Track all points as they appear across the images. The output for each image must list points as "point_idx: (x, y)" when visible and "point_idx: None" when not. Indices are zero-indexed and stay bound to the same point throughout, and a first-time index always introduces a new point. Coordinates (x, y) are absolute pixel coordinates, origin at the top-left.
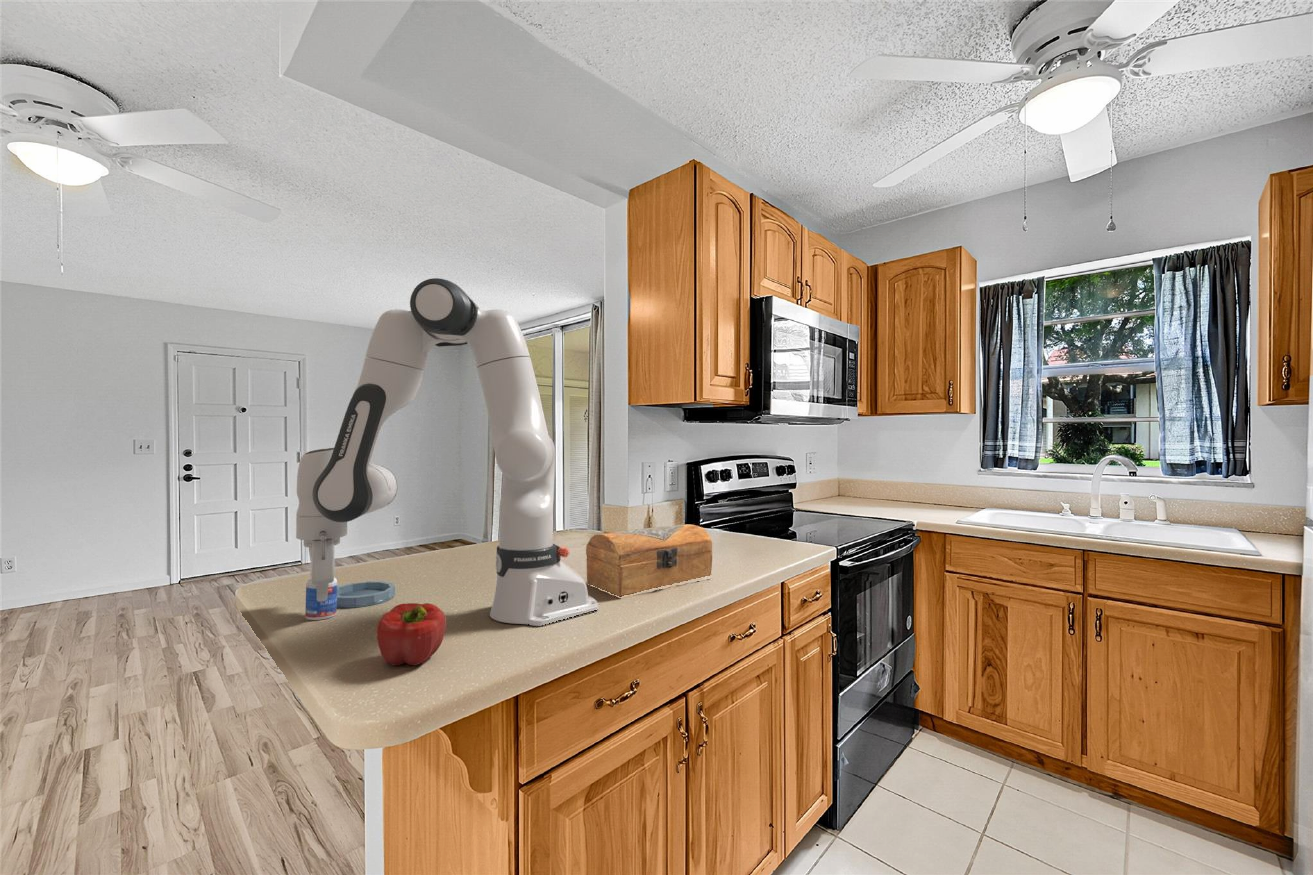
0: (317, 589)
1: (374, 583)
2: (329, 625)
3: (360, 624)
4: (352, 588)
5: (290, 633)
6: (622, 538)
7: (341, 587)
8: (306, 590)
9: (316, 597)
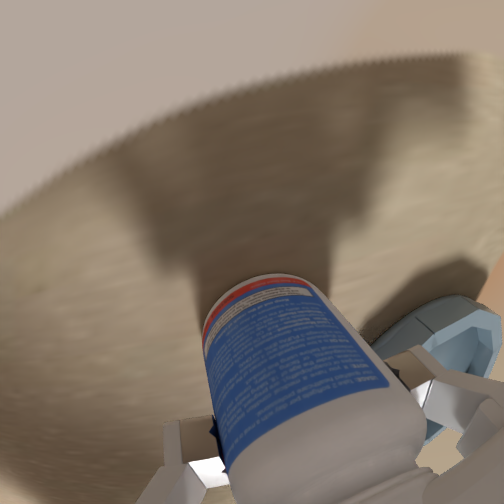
0: (144, 494)
1: None
2: (122, 382)
3: (122, 448)
4: (484, 344)
5: (39, 260)
6: None
7: (490, 331)
8: (295, 390)
9: (217, 418)
